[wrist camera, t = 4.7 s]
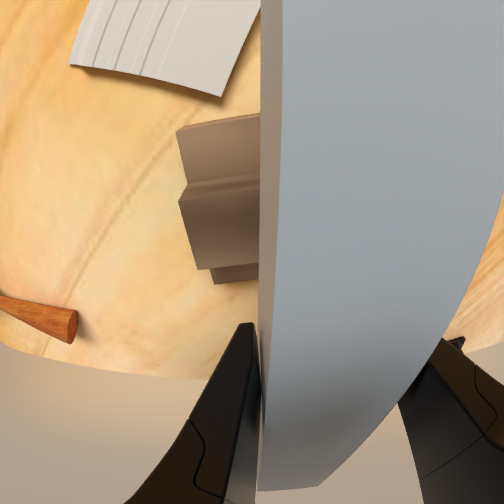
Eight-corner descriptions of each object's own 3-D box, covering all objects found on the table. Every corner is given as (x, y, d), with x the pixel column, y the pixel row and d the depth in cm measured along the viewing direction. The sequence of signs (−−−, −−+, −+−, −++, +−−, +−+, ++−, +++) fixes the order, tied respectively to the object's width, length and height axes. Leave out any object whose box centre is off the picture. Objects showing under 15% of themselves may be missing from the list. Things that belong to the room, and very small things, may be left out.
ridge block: (328, 252, 20) (345, 293, 17) (216, 267, 21) (210, 310, 17) (320, 107, 15) (344, 115, 11) (183, 126, 16) (162, 140, 12)
